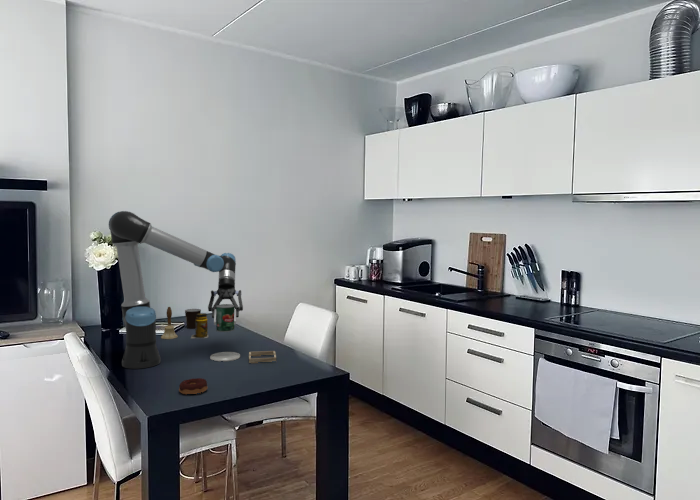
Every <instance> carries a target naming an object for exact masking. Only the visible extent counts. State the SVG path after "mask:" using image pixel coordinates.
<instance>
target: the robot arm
mask: <svg viewBox="0 0 700 500" xmlns="http://www.w3.org/2000/svg"><path fill="white" fill-rule="evenodd" d="M108 228H109V230H110V231H109V232H110V238H111V243H112V245H113V246H115V247H116V252H117V258H118V266H119V273H120V279H121V287H122V292H123V299H124V300H123V302H122V303H121V305H120V307H121V311H122V312H121V313H122V319H121V320H122V323H123V326H124V327H125V340H126V341H125V349H124V350H125V351H124V352H123V355H122V359H121V366H122V367H123V368H126V369H132V370H133V369H135V370H137V369H145V368H146V369H147V368H152V367H154V366H158V365H159V364H161V355H160V352H159V349H158V346H157V331H156V330H157V322H156V321H157V314H156V310H155V309H154V308H152V307H151V303H150V300H149V299H148V298H146V294H145V293H146V292H145V286H144V278H143V273H142V266H141V258H140V253H139V252H140V250H139V244H146V245H148V246H151V247H153V248H155V249H158V250H160V251H163V252H166V253H167V254H170V255H172V256H174V257H177V258H179V259H182V260H185V261H186V262H189V263H190V264H193V265H194V266H195V267H198V268H202V269H205V270H206V271H207V270H208V271H209V272H211V273H218V284H217V290H211V291H210V300H209V303H208V305H207V309H208V310H207V311H208V312H211V318H212V319H213V326H216V306H217V305H221V302H223V300H230V302H231V304H232V305H234V326H235V325H237V318H239V315H240V311H241V312H242V311H243V310H244V305H243V301H242V300H243V299H242V290H241V289H240V290H236V265H237V263H236V262H237V261H236V256H235V255H234V254H233V253H232V252H231V253H230V252H224V253H221V254H220V255H219V254H215V253H212V251H211V252H210V251H208V250H206V249H204V248H201V247H199V246H197V245H195V244H193V243H190V242H188V241H186V240H184V239H182V238H179V237H177V236H174V235H173V234H170V233H168V232H165V231H164V230H161V229H158V228H157V227H154V226H152V223H151V222H148V221H147V220H144V219H143V218H141V217H139V216H138V215H137V214H135V213H134V212H131V211H127V210H122V211H117V212H115V213H114V214H112V216H111V217H110V218H109V220H108ZM217 295H218V297H217V299H216V300H215V297H216V296H217ZM235 295H236V296H237V300H238V303H237V302H236V299H235V297H234V296H235ZM214 301H215V303H214Z"/></svg>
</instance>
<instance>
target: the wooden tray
mask: <svg viewBox="0 0 700 500" xmlns="http://www.w3.org/2000/svg"><path fill="white" fill-rule="evenodd" d="M276 353H277V352H276V351H275V350H263V351H260V350H259V351H258V350H257V351H249V352H248V364H249V363H251V364H259V363H258V362H272V361H276V362H277V354H276ZM261 355H274V357H262V356H261ZM251 356H253V357H251Z"/></svg>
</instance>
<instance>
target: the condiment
mask: <svg viewBox="0 0 700 500" xmlns="http://www.w3.org/2000/svg"><path fill="white" fill-rule="evenodd" d="M208 321H209V320H208V314H207V313H203V312H202V313H199V314H197V315H196V320H195V324H196V326H195V327H196V329H195V330H194V331H195V334H192V335H190V336H191V337H190V339H208V338H209V333H208Z"/></svg>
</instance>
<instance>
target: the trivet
mask: <svg viewBox="0 0 700 500" xmlns="http://www.w3.org/2000/svg"><path fill="white" fill-rule="evenodd" d="M209 358H210V360H212V361H213V360H214V362H221V361H223V362H232V361H236V360H238V359H240V358H241V354H240V353H239V352H236V351H222V352H221V351H220V352H215V353H212V354H211V355H210V356H209Z"/></svg>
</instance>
